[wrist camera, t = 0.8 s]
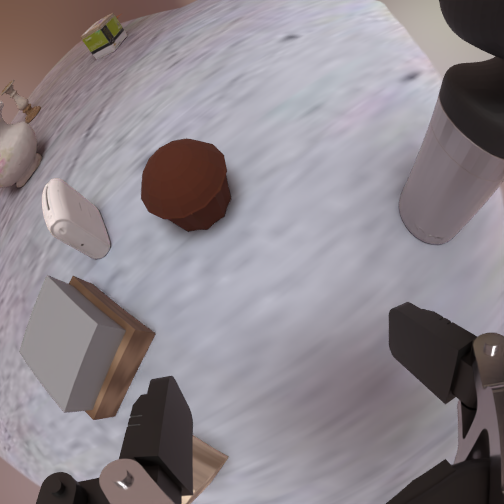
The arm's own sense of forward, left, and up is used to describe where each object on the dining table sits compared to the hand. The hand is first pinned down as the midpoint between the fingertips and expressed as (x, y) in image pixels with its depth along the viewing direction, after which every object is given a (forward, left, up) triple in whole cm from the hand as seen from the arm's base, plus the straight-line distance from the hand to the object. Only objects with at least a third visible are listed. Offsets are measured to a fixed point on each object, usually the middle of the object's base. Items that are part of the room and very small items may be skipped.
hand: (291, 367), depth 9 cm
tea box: (-63, -106, -21) cm, 125 cm away
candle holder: (-24, -122, -21) cm, 126 cm away
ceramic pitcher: (-3, -83, -21) cm, 86 cm away
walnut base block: (+13, -24, -21) cm, 35 cm away
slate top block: (+13, -24, -16) cm, 32 cm away
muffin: (-12, -21, -21) cm, 32 cm away
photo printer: (-1, -36, -21) cm, 42 cm away
